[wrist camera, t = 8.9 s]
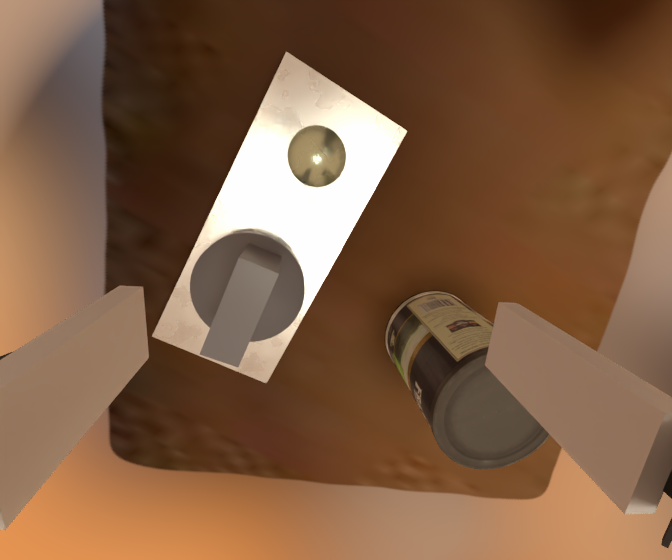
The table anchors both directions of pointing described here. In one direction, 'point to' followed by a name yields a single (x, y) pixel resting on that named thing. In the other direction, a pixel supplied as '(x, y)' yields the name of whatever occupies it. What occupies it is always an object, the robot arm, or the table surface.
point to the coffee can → (459, 382)
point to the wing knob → (245, 292)
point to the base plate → (291, 194)
